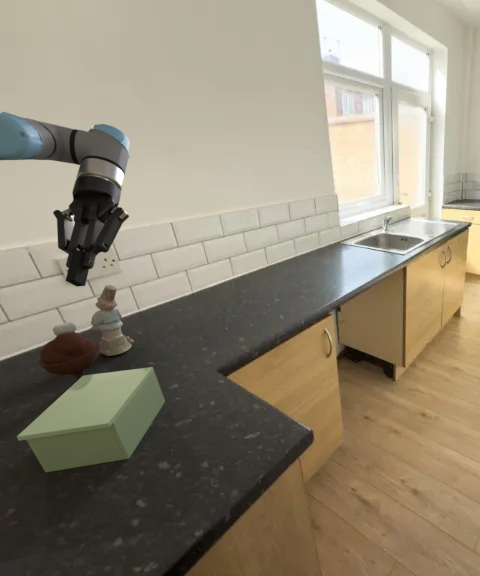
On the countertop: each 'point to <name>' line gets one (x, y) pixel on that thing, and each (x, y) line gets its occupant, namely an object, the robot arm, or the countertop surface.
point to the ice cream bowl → (69, 354)
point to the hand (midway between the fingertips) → (75, 283)
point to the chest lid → (88, 404)
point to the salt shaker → (64, 328)
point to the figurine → (110, 324)
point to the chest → (103, 435)
